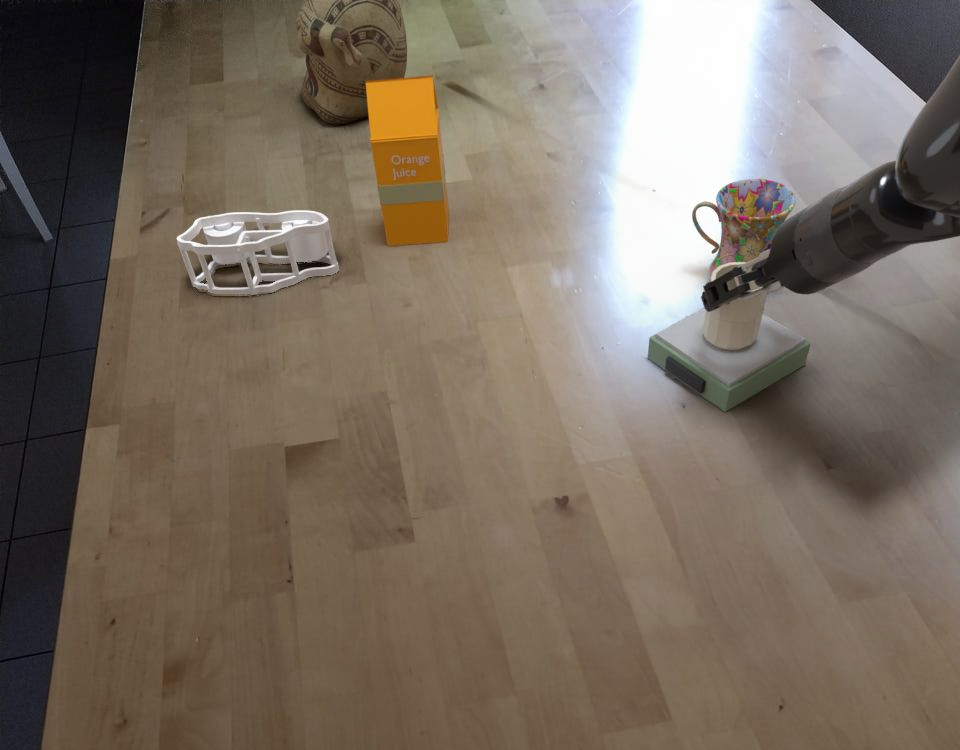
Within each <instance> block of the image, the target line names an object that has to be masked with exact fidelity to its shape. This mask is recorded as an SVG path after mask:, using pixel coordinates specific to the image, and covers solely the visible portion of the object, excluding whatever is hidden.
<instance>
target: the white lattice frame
mask: <svg viewBox="0 0 960 750" xmlns="http://www.w3.org/2000/svg"><path fill="white" fill-rule="evenodd" d="M246 223H256V225H257V228H258V229H257V230H247V228H246ZM264 223H265V224H279V223H281V227H280V228H281V229H265V225H264ZM330 226H331V225H330V221H329V218H328V216H326V215H325V214H324V213H322V212H319V211H315V210H304V209H297V210H296V209H295V210H294V209H293V210H286V211H282V212H280V211H279V212H272V213H271V212H256V211H255V212H253V211H251V212H250V211H240V212H239V211H238V212H237V211H236V212H225V213H220V214H215V215H208V216H203V217H198V218H196V219H195V220H194V222H193V223H192V225H191V226H190V227H189V228H188V229H186V230H185V231H184V232H182V233H181V234H179V235H178V236H176V241H177V242H176V244H177V247H178V249H179V252H180V255H181V258H182V261H183V263H184V266H185V268H186V271H187V274H188V277H189V279H190V282H191V286H192V287H196V288H198V289H204V290H208V292H210V293H214V294H236V295H237V294H239V295H240V294H245V295H246V294H251V295H254V294H257V293H259V292H268V293H269V292H274V291H276V290H278V289H280V288H283V287H287V288H289V287H288V286H290V285H294V284H296V283H298V282H300V281H301V280H303V279H305V280H307V279H306V278H308V277H312V276H321V275H322V276H324V277H327V276H326V275H331V276H334V275H336V274H338V273H339V272H340V265H339V262H338V260H337V256H336V252H335V247H334V242H333V238H332V233H331V227H330ZM201 230H203V234H204V237H205V240H206V243H207V244H202V243H199V242H196V241H192V240H193V239H194V238H196V237H197V236H198V235H199V234H200V232H201ZM281 244H285V247H286V252H287V255H273V254H272V250H271V247H274V246H277V245H281ZM188 251H189V252H194V254H196V255H197V258H198V261H199V264H200V267H201V268H202V272H201V273H200V274H199V275H197V276H196V274H195V271H194V267H193V266H192V262H191V260H190V257H189V253H188ZM261 251H264V254H256V252H257V253H258V252H261ZM205 255H206V256H211V257H212V261H210V262H209V264H208V263H207V260H206V257H205ZM248 261H250V262H251V263H252V264H251V266H252V270H253V273H254V276H253V277H252V275H251V271H250V268H249V264H247V262H248ZM257 261H258V262H260V261H261V262H268V263H281V264H282V263H283V264H285V263H286V264H287V263H291V265H290V267H291V271H292V272H274V273H273V272H272V273H269V272H267V273H266V272H265V273H261V269H260V266H259V265H260V264H258V262H257ZM312 261H318V262H320V261H321V262H325V263H328V264H330V265H328V264H327V265H328V266H321V267H309V268H305V269H302V270H299V267H298V264H297V263H296V262H304V263H305V262H307V263H313V262H312ZM236 263H241V265H240V266H241V268H242V271H243V275H244V278H245V281H246V284H247V286H246V287H245V286H243V287H218V286H216V285H215V283H214V281H213V278H212V277H213V276H212V277H211V273H212V272H213V270H214V268H215V267H216V266H218V265H225V264H227V265H228V264H236ZM304 263H303V264H304ZM305 264H306V263H305ZM338 271H339V272H338ZM337 272H338V273H337ZM335 273H336V274H335ZM333 274H334V275H333ZM205 278H206V281H207V282H206V283H205V284H204V283H200V282H201V281H203V280H204V279H205ZM312 278H313V277H312ZM308 279H309V278H308ZM262 280H264V281H275V282H273V283H267V284H260V285H258V284H259V282H262ZM300 283H301V282H300ZM296 285H297V284H296ZM294 286H295V285H294Z"/></svg>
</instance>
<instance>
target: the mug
mask: <svg viewBox="0 0 960 750" xmlns="http://www.w3.org/2000/svg"><path fill="white" fill-rule="evenodd" d="M796 199H797V198H796V195H795V193H794V192H793V191H792V190H791V189H790V188H789V187H788V186H786V185H784V184H782V183H781V182H777V181H774V180H770V179H766V178H765V179H764V178H746V179H745V178H744V179H739V180H735V181H733V182H730V183H728V184H726V185H723V187H721V189H720V190H719V191H718V192H717V194H716V198H715V202H716V204H714V203H713V202H710V201H702V202H699V203H697V204H696V205H695V206H694V208H693V210H692V213H691V219H692V222H693V225H694V227H695V229H696V231H697V233H698V234H699V235H700V237H702V239H703V240H704V241H706V242H707V243H708V244H710V245H711V246H713V247H714V248H713V249H712V250H711V254H712V255H714V254H716V253H717V254H716V255H715V257H714V259H713V260H712V262H711V264H710V266H709V268H708V273H709V277H710V278H711V275H712V272H713V271H714V270H715V269H716V268H717V267H719V266H720V265H724V264H727V263H730V262H749V261H751V260H753V259H755V258H757V257H758V256H759V254H760V253H762V252H764V251H766V250H768V249H770V248H771V244H772V240H773V237H774V235H775V233H776V231H777V229H778V228H779V227H780V226H781V224H782V223H784V222H785V221H786V220H787V219H788V217H789V215H790V214H791V212H792V211H793V210H794V208H795V206H796V202H797V200H796ZM702 207H707V208H710V209H712V210H713V211H714V212H715V213H716V216H717V218H718V222H719V223H720V225H721V230H720V231H721V233H720V234H721V235H720V242H719V243H718V242H717V241H715V240H714V239H713V238H711V237H710V236H709V235H707V234H706V232H704V229H702V227H701V225H700V224H699V220H698V219H697V210H698V209H700V208H702Z"/></svg>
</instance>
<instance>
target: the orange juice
mask: <svg viewBox="0 0 960 750" xmlns="http://www.w3.org/2000/svg"><path fill="white" fill-rule="evenodd" d="M365 82H366V92H367V103H368V114H369V116H368V124H369V134H370V138H369V142H370V147H371V152H372V154H371V155H372V160H373V165H374V171H375V172H374V173H375V178H376V183H377V184H376V185H377V192H378V198H379V203H380V208H381V214H382V220H383V225H384V226H383V227H384V232H385V238H386V244H387V245H386V246H387V247H396V246H408V245H422V244H435V243H448V242H449V237H450V236H449V235H450V233H449V232H450V207H449V199H448V190H447V179H446V167H445V157H444V156H445V155H444V150H443V139H442V132H441V131H442V129H441V121H440V111H439V110H440V109H439V106H438V105H439V104H438V99H437V94H436V93H437V92H436V86H435V81H434V75H423V76H422V75H421V76H410V77H404V78H396V79H384V80H372V81H365Z"/></svg>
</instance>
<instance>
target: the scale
mask: <svg viewBox="0 0 960 750" xmlns="http://www.w3.org/2000/svg"><path fill="white" fill-rule="evenodd" d="M705 314H706V309H705V308H704V307H703V308H701V309H699V310H697V311H695V312H693V313H692V314H689V315H688V316H686V317H684V318H683V319H681V320H679V321H677V322H675V323H672V324H671V325H670V326H668V327H666V328H664V329H662V330H660V331H659V332H656V333H655V334H653V335H651V336H650V337H649V339H648V347H647V348H648V350H647V360H649V361H651V362H652V363H654V364H655V365H656V366H657V367H659V368H661V369H662V370H663V371H665V372H666V373H668V374H669V375H671V376H672V377H674V378H675V379H677V381H679V382H681V383H683V384H684V385H685V386H686V387H688V388H689V389H691V390H692V391H694V392H695V393H696V394H698V395H700V396H701V397H702V398H704V399H705V400H706V401H708V402H710V403H711V404H712V405H714V406H715V407H717V408H719V409H720V410H721V411H723V412H724V413H726V412H728V411H729V410H731V409H733V408H734V407H737V406H738V405H740V404H742V403H743V402H745V401H746V400H748V399H750V398H751V397H753V396H755V395H756V394H758V393H760V392H761V391H763V390H765V389H766V388H768V387H770V386H771V385H773V384H775V383H776V382H779V381H780V380H782V379H784V378H786V377H787V376H788V375H791V374H792V373H793V372H795V371H797V370H798V369H800V368H802V367H803V366H805V365H806V363H807V360H808V354H809V351H810V348H811V344H812V343H811V342H810V341H808V340H807V339H806V338H805V337H803V336H801V335H799V334H798V333H796V332H794V331H793V330H791V329H790V328H788V327H786V326H784V325H782V324H781V323H779V322H778V321H776V320H774V319H773V318H771V317H769V316H767V315H766V314H764V313H763V315H762V320H761V324H760V329H759V334H758V338H757V339H756V340H755V341H754V342H753V343H752V344H750V345H748V346H746V347H744V348H742V349H738V350H724V349H720V348H717V347H715V346H714V345H712V344H711V343H710V342H709V341H707V340H706V338H705V336H704V334H703V327H704V320H705Z"/></svg>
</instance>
